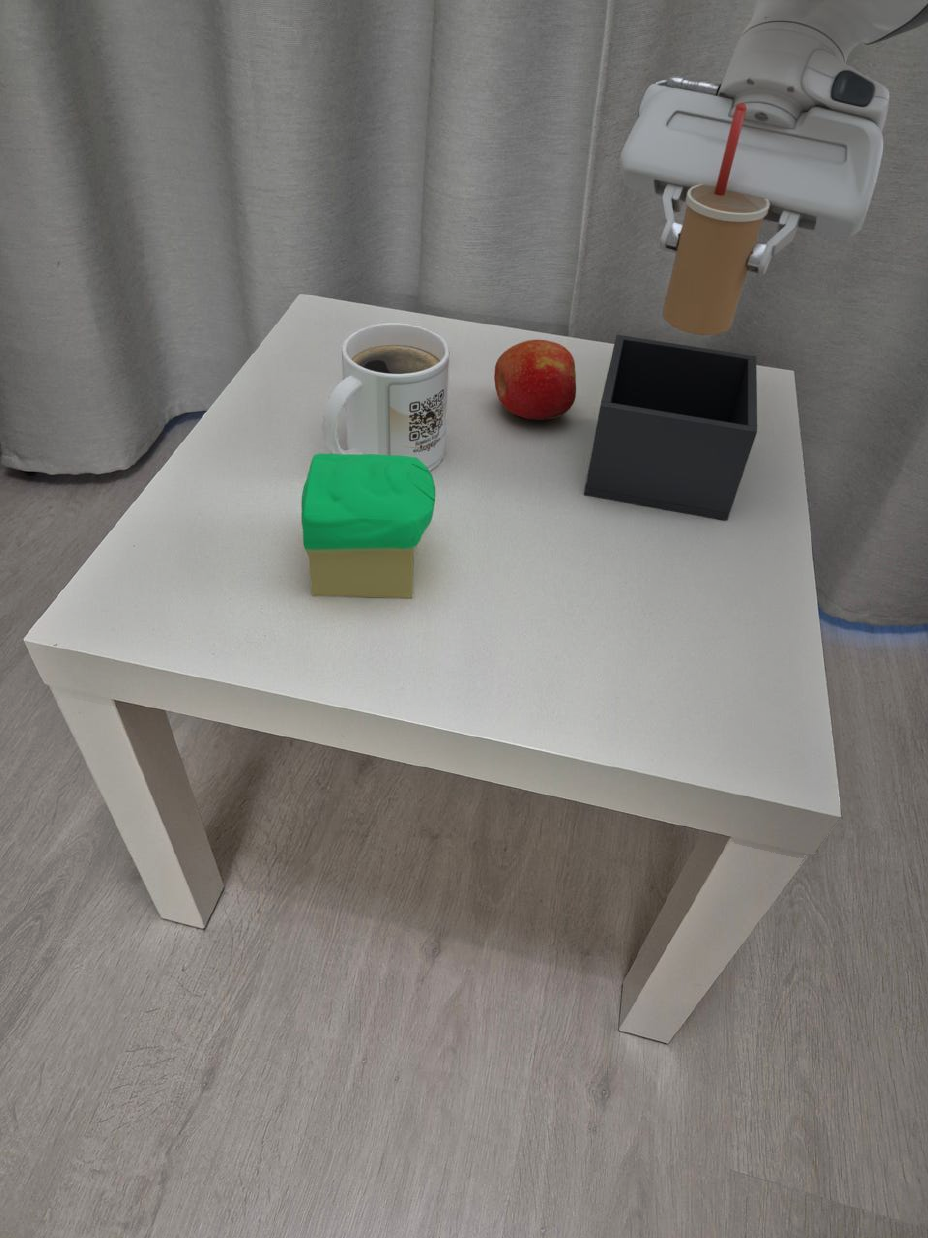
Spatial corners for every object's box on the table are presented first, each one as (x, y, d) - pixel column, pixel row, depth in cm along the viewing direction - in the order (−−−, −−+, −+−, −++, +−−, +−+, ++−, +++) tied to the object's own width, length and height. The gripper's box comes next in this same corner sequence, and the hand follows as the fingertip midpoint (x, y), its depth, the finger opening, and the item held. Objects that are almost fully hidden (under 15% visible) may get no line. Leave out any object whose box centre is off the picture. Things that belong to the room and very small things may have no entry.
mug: (452, 480, 84) (458, 377, 77) (327, 487, 83) (319, 382, 75) (438, 420, 92) (441, 320, 84) (322, 425, 90) (314, 323, 82)
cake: (432, 605, 72) (435, 509, 65) (302, 601, 72) (291, 504, 65) (433, 529, 79) (436, 435, 72) (314, 525, 79) (306, 430, 72)
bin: (727, 520, 82) (757, 431, 75) (583, 495, 84) (600, 405, 77) (729, 441, 92) (756, 356, 85) (600, 419, 93) (616, 334, 86)
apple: (572, 437, 91) (583, 367, 85) (491, 432, 91) (497, 362, 85) (567, 396, 96) (578, 328, 91) (491, 392, 96) (497, 323, 90)
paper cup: (750, 326, 75) (815, 114, 64) (694, 342, 73) (752, 125, 61) (699, 295, 79) (751, 89, 67) (644, 309, 76) (689, 98, 65)
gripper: (650, 46, 71) (587, 210, 71) (912, 94, 65) (841, 272, 66) (655, 95, 77) (597, 246, 77) (896, 143, 71) (831, 306, 72)
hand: (711, 259), depth 72 cm, fingers closed on paper cup, 6 cm apart
